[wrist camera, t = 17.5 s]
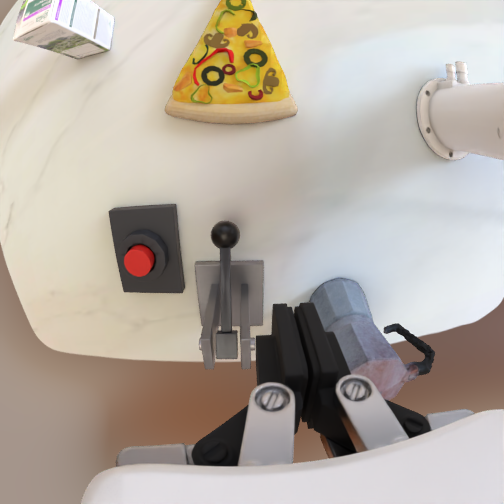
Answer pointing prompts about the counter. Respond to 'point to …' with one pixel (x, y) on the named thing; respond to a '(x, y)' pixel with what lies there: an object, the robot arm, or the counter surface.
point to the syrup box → (65, 27)
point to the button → (139, 260)
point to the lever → (226, 288)
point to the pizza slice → (232, 73)
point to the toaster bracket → (242, 301)
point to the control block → (149, 246)
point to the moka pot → (367, 337)
